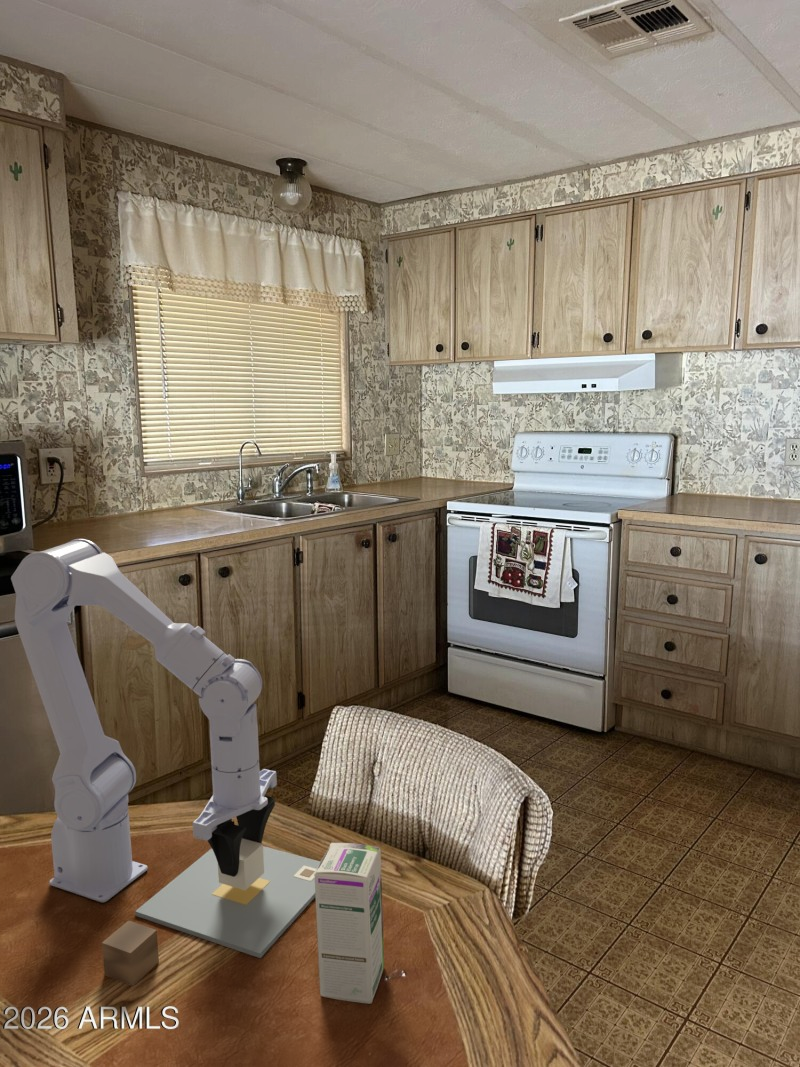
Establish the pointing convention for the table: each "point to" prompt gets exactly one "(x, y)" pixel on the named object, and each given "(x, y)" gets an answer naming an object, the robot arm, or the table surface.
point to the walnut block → (130, 952)
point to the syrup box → (349, 922)
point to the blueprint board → (236, 902)
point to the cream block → (246, 866)
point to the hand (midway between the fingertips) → (240, 863)
